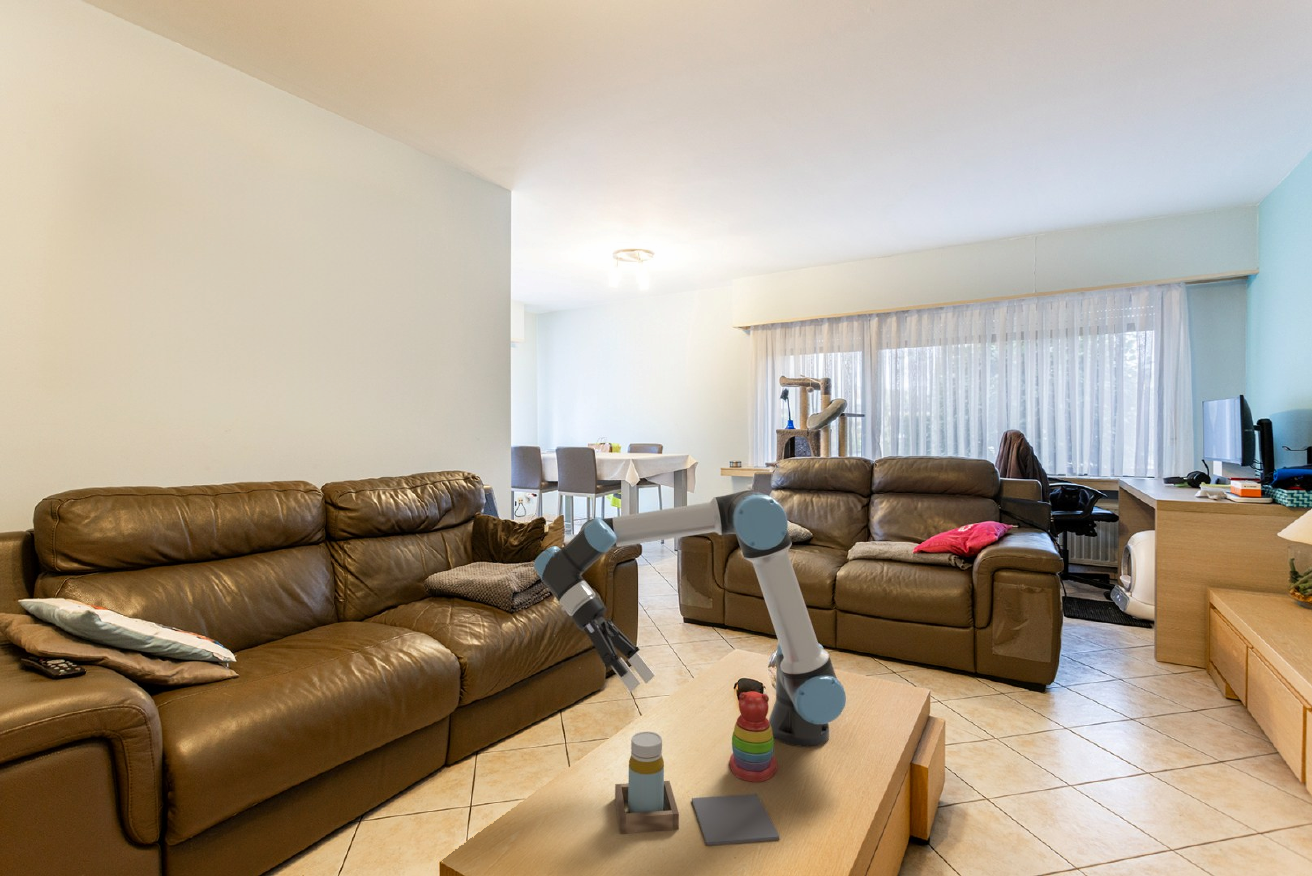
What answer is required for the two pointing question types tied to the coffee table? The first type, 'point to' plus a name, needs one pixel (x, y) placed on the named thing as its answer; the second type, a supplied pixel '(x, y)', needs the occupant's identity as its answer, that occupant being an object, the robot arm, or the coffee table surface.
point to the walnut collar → (646, 813)
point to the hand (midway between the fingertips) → (643, 683)
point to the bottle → (646, 773)
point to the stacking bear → (753, 740)
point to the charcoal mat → (734, 819)
